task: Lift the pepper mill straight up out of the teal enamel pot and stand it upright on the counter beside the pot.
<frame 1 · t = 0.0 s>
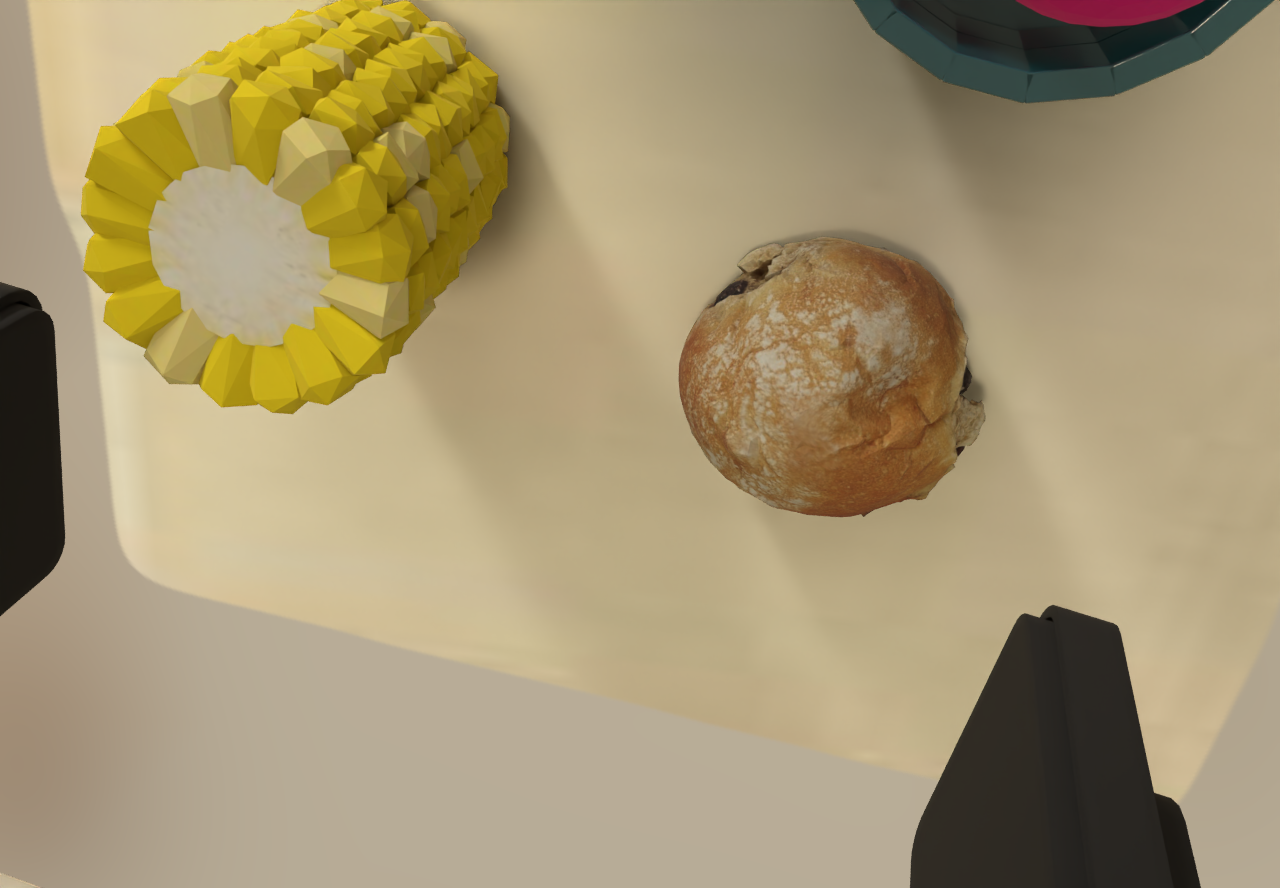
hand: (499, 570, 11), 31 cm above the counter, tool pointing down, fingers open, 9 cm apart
food: (414, 130, 43), on the counter
bread roll: (838, 360, 43), on the counter
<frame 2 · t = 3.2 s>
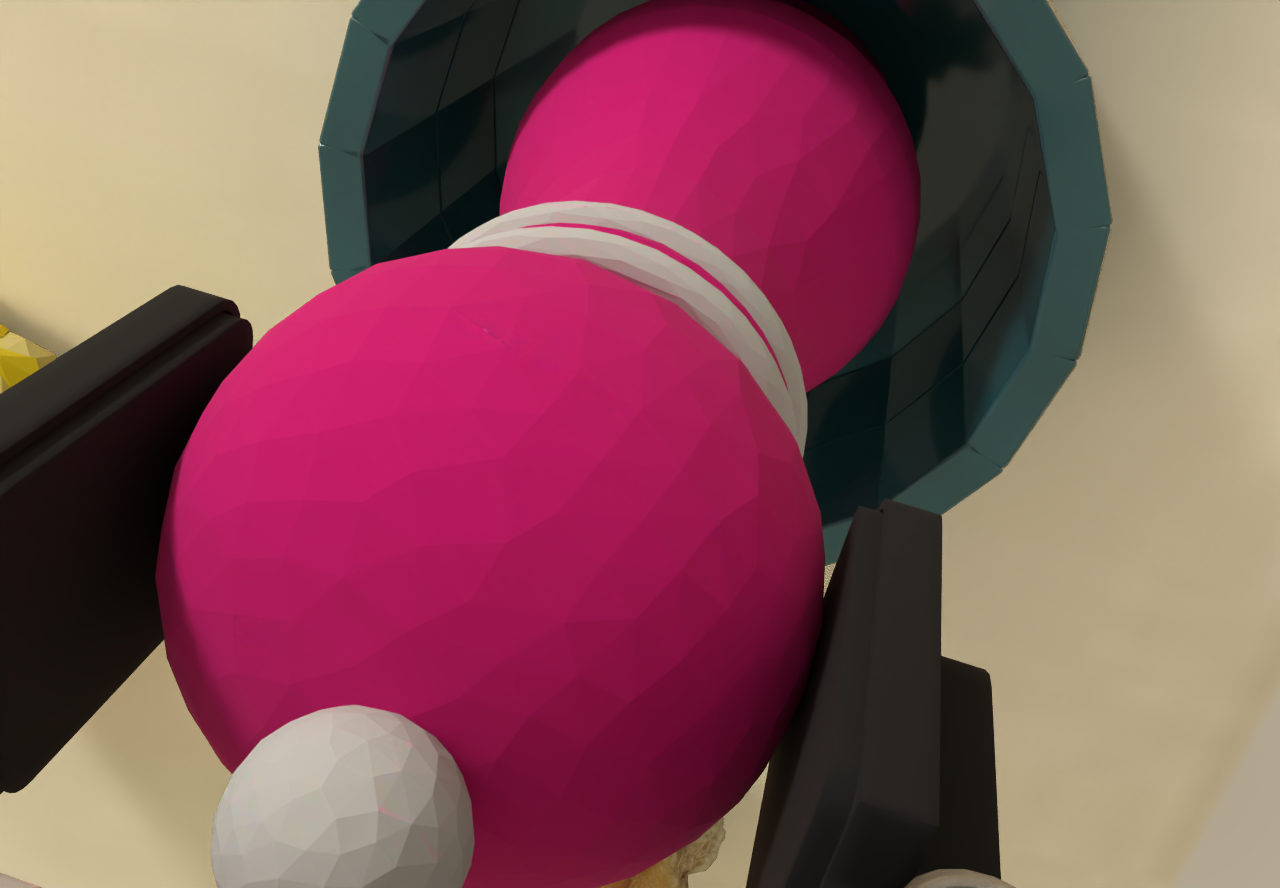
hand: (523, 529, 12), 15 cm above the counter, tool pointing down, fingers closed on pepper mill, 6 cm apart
food: (22, 446, 34), on the counter
pot: (749, 142, 25), on the counter
pepper mill: (747, 145, 25), resting on pot, touching gripper
bread roll: (560, 730, 34), on the counter
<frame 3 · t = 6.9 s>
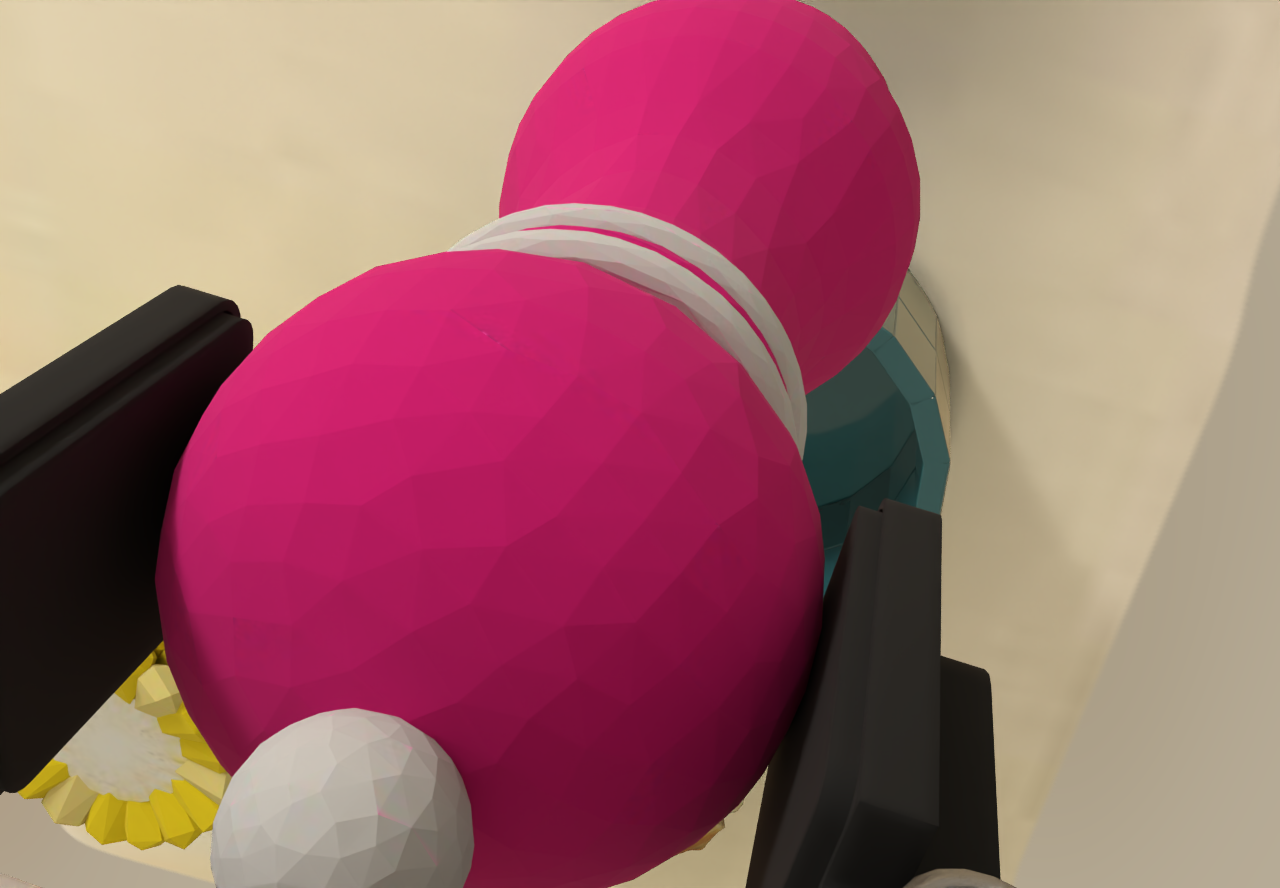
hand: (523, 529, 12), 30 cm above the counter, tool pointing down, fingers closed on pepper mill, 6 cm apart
food: (286, 534, 52), on the counter
pot: (767, 374, 43), on the counter
pepper mill: (747, 147, 25), point 14 cm above the counter, touching gripper
bread roll: (638, 722, 52), on the counter
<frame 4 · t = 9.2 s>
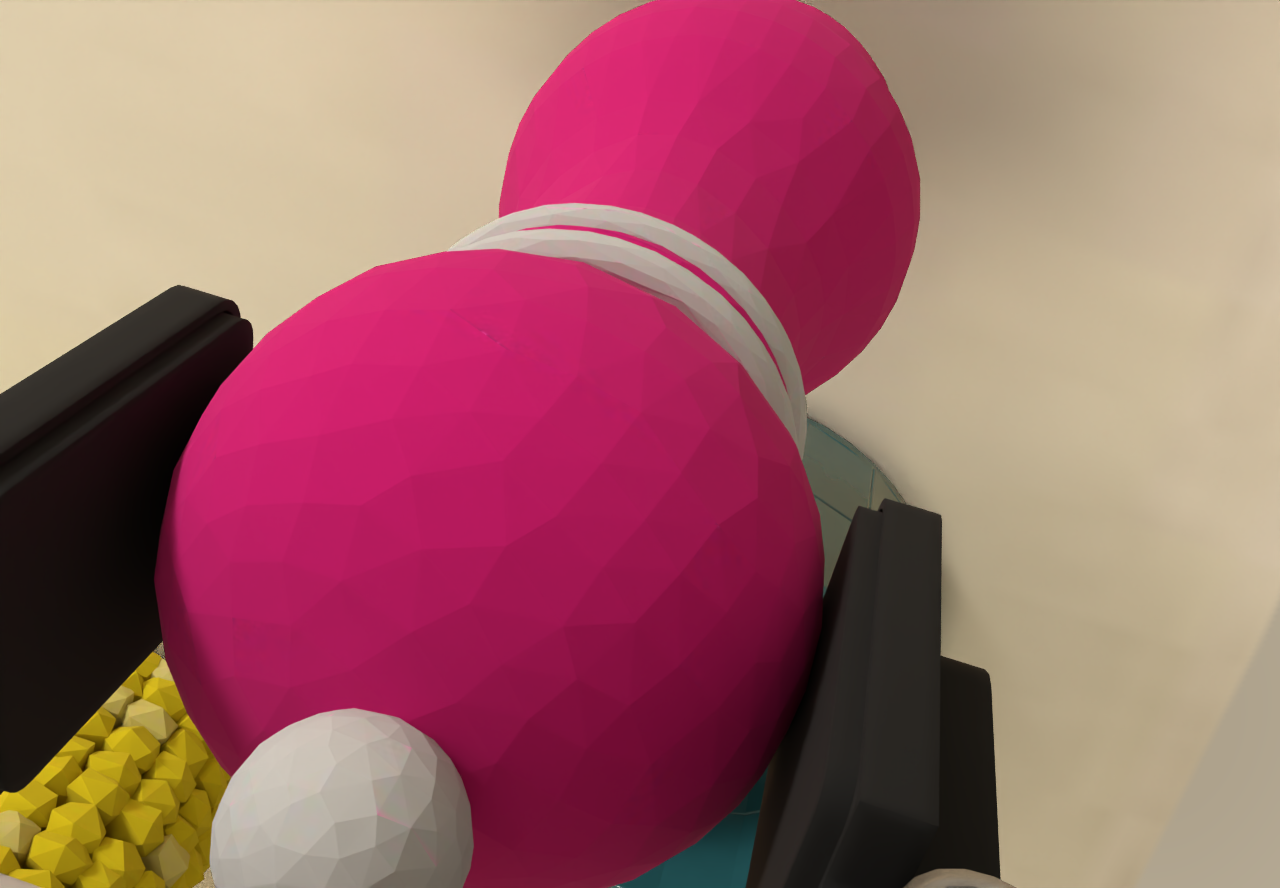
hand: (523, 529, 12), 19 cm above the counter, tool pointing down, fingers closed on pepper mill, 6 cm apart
food: (162, 726, 44), on the counter
pot: (713, 582, 35), on the counter
pepper mill: (747, 146, 25), point 4 cm above the counter, touching gripper
when the fingers open (15 cm above the counter, at t = 10.8 s): pepper mill stays where it is, on the counter.
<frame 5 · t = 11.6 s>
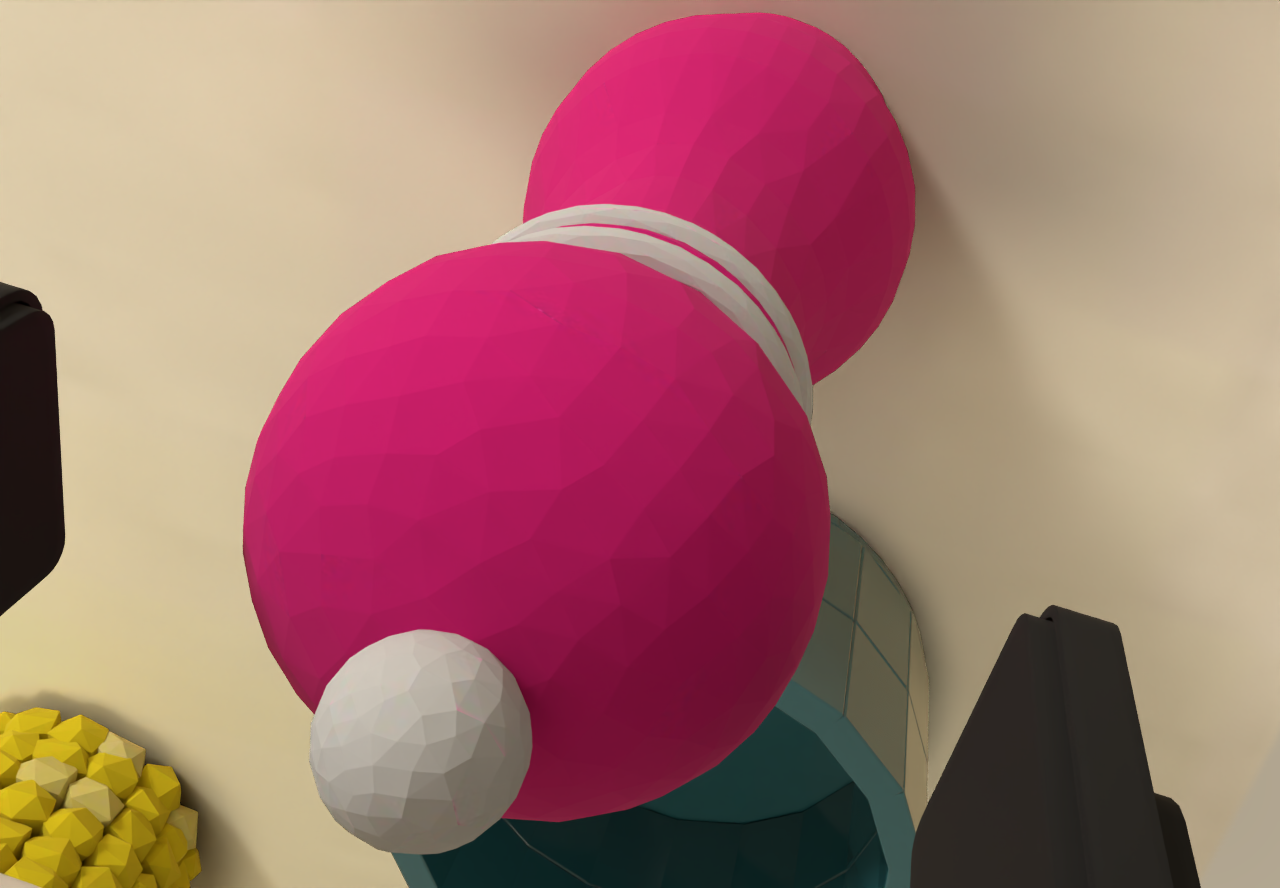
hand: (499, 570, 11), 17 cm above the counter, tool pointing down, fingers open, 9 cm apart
food: (112, 800, 42), on the counter
pot: (692, 661, 33), on the counter
pepper mill: (752, 158, 26), on the counter
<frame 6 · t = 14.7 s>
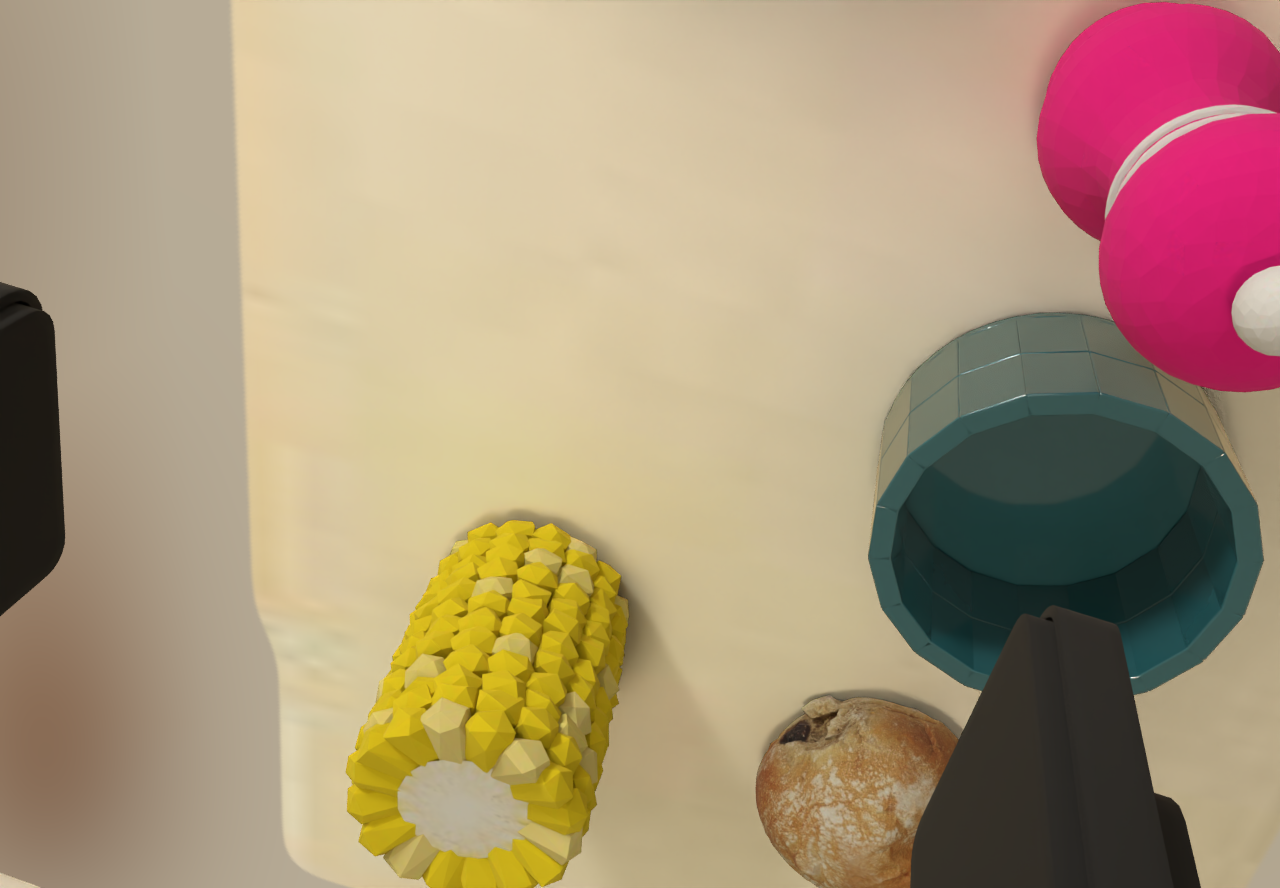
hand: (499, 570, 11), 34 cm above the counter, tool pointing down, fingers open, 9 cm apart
food: (551, 596, 55), on the counter
pot: (1043, 462, 46), on the counter
pepper mill: (1141, 98, 40), on the counter
bread roll: (877, 770, 56), on the counter
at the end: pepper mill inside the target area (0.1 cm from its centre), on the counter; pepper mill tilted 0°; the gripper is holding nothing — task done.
